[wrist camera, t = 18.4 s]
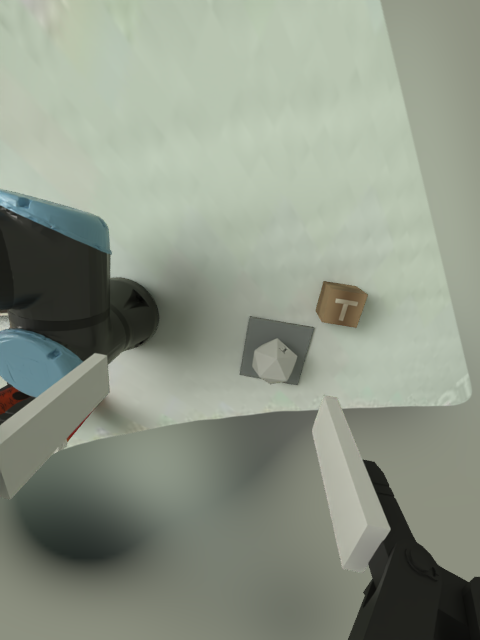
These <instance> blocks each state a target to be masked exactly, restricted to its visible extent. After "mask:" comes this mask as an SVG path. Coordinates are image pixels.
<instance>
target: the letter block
mask: <svg viewBox="0 0 480 640" xmlns="http://www.w3.org/2000/svg"><path fill="white" fill-rule="evenodd" d="M367 296H368V294H366V293H365V292H363V291H362V290H361V289H359V288H358V287H356V286H352V285H345V284H339V283H333V282H326V281H324V282H323V285H322V289H321V293H320V296H319V300H318V304H317V307H316V313H317V314H318V316H319V318H320V320H321V321H322V322H324V323H330V324H337V325H343V326H349V327H355V328H357V325H358V322H359V319H360V316H361V313H362V311H363V308H364V305H365V302H366V299H367Z"/></svg>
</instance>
